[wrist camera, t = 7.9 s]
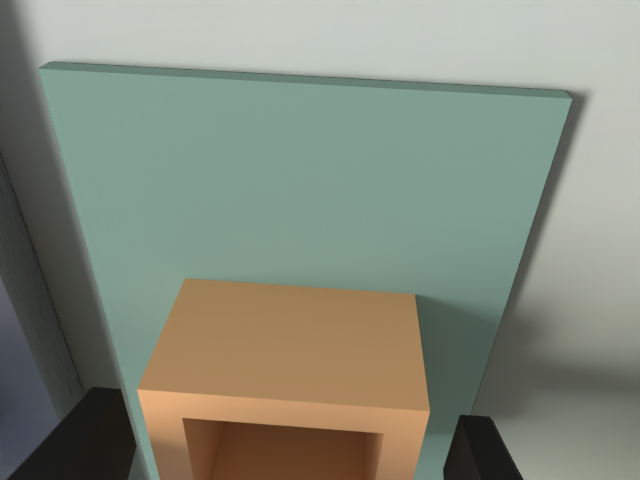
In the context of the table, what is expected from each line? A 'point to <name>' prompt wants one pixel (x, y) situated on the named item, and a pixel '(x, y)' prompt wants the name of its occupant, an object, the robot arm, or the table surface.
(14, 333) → the vise
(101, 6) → the table surface
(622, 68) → the table surface
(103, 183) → the mat
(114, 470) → the robot arm
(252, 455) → the collar
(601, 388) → the table surface
